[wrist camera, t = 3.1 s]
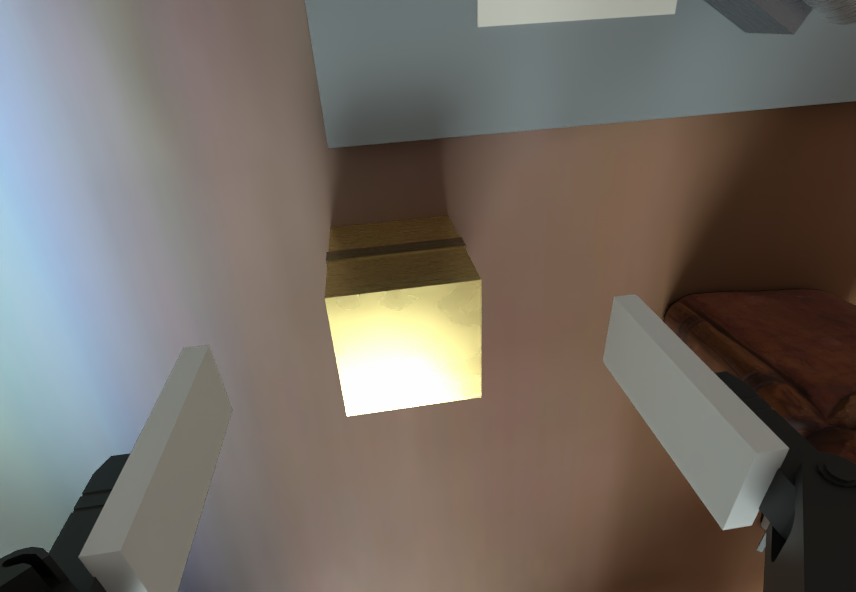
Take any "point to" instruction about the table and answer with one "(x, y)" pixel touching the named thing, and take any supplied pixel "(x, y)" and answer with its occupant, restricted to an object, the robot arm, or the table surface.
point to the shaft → (782, 13)
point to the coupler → (403, 314)
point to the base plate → (556, 65)
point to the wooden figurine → (782, 355)
